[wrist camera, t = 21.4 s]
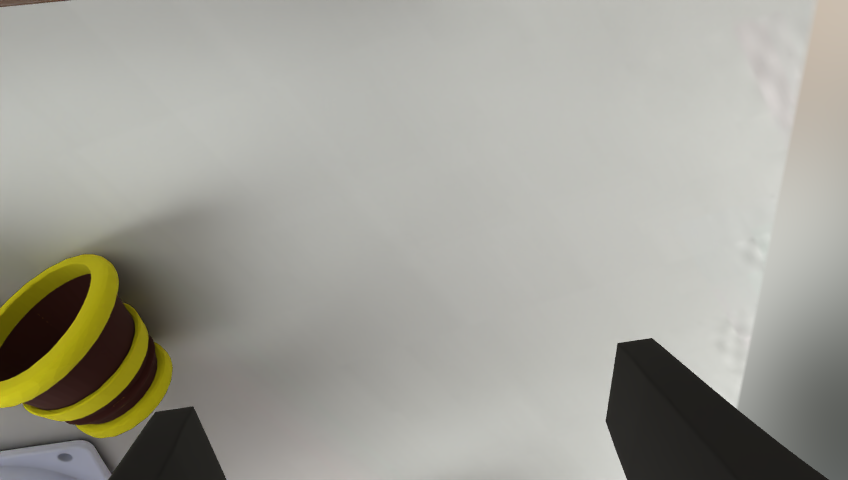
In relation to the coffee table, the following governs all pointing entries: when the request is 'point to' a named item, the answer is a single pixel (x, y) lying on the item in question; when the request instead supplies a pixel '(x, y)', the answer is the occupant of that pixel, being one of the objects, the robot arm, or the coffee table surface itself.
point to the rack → (24, 2)
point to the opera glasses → (80, 350)
